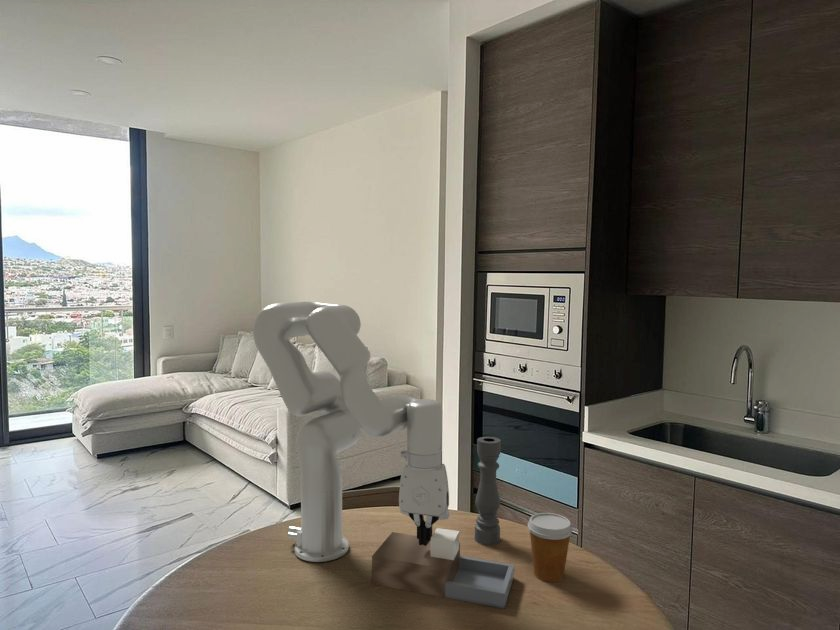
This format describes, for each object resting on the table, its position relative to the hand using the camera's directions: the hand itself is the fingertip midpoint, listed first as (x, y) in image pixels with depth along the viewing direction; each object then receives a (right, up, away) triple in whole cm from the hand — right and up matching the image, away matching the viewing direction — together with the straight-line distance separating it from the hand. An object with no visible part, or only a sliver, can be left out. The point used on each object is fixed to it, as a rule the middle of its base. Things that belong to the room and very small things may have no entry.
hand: (424, 542), depth 121 cm
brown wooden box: (-2, -8, +1) cm, 8 cm away
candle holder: (+16, -7, +19) cm, 25 cm away
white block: (+4, -2, -1) cm, 5 cm away
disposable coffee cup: (+27, -8, +2) cm, 28 cm away
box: (+12, -8, -3) cm, 15 cm away
